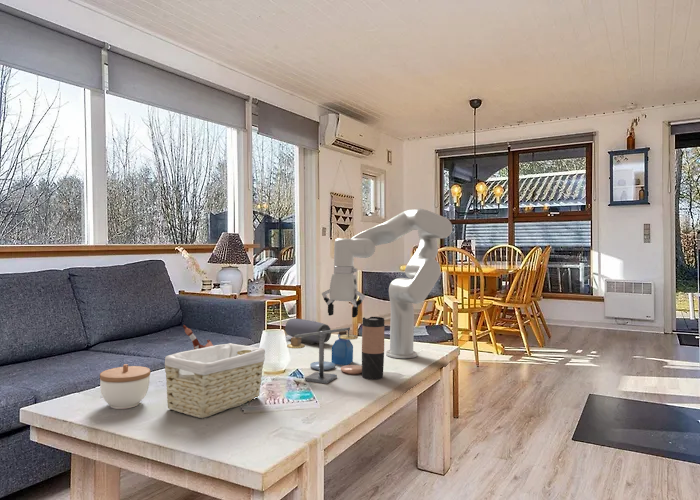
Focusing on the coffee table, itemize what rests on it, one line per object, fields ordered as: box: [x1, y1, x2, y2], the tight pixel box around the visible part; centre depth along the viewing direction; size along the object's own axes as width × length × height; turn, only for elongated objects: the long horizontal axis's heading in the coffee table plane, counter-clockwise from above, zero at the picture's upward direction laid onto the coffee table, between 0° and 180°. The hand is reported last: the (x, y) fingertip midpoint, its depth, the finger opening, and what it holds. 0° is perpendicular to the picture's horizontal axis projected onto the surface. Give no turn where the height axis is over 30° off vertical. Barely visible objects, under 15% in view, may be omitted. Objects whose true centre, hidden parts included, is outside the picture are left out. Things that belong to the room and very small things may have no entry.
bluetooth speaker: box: [284, 318, 332, 345], centre depth 224 cm, size 23×9×10 cm, turn 46°
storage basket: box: [164, 342, 266, 419], centre depth 136 cm, size 24×16×15 cm
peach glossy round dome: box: [340, 364, 362, 375], centre depth 173 cm, size 9×9×1 cm
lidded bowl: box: [99, 363, 151, 410], centre depth 134 cm, size 13×13×11 cm
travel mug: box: [361, 316, 385, 381], centre depth 167 cm, size 8×8×20 cm
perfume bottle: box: [330, 331, 354, 366], centre depth 186 cm, size 6×6×12 cm
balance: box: [286, 326, 359, 385], centre depth 163 cm, size 8×25×18 cm, turn 68°
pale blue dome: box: [309, 360, 336, 371], centre depth 178 cm, size 9×9×1 cm
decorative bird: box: [182, 324, 215, 350], centre depth 164 cm, size 28×18×15 cm, turn 5°
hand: (342, 316), depth 185 cm, fingers open, 9 cm apart
